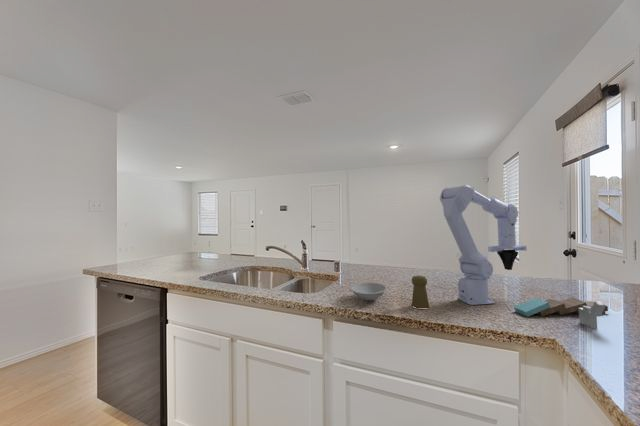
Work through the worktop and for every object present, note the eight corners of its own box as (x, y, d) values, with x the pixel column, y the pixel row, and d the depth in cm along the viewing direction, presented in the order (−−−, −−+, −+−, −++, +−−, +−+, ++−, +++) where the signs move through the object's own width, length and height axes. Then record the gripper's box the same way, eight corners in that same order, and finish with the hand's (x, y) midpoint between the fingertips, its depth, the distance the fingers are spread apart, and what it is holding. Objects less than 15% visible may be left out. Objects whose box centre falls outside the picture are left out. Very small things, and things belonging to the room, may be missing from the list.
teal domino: (525, 312, 85) (548, 302, 85) (513, 306, 90) (535, 297, 90) (527, 316, 85) (550, 307, 85) (515, 311, 90) (536, 302, 90)
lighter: (578, 322, 79) (577, 295, 80) (585, 322, 79) (583, 295, 79) (600, 332, 72) (598, 302, 73) (607, 332, 72) (605, 302, 72)
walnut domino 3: (582, 307, 85) (607, 306, 85) (567, 302, 90) (591, 301, 90) (582, 312, 85) (608, 311, 85) (568, 306, 90) (591, 305, 90)
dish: (385, 308, 97) (385, 294, 97) (346, 305, 101) (346, 292, 101) (389, 294, 114) (388, 282, 114) (355, 293, 118) (354, 281, 118)
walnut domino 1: (540, 311, 85) (564, 303, 85) (528, 306, 90) (550, 298, 90) (542, 316, 85) (565, 308, 85) (529, 311, 90) (551, 303, 90)
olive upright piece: (429, 304, 99) (428, 274, 99) (428, 310, 94) (427, 278, 94) (412, 303, 102) (411, 273, 102) (410, 308, 96) (409, 277, 96)
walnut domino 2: (558, 310, 85) (585, 302, 84) (547, 304, 90) (573, 297, 89) (560, 315, 85) (587, 307, 84) (549, 309, 90) (575, 301, 89)
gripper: (496, 236, 103) (498, 272, 102) (532, 234, 104) (534, 270, 103) (483, 235, 110) (485, 268, 109) (517, 233, 111) (519, 267, 110)
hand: (508, 269), depth 107 cm, fingers closed
